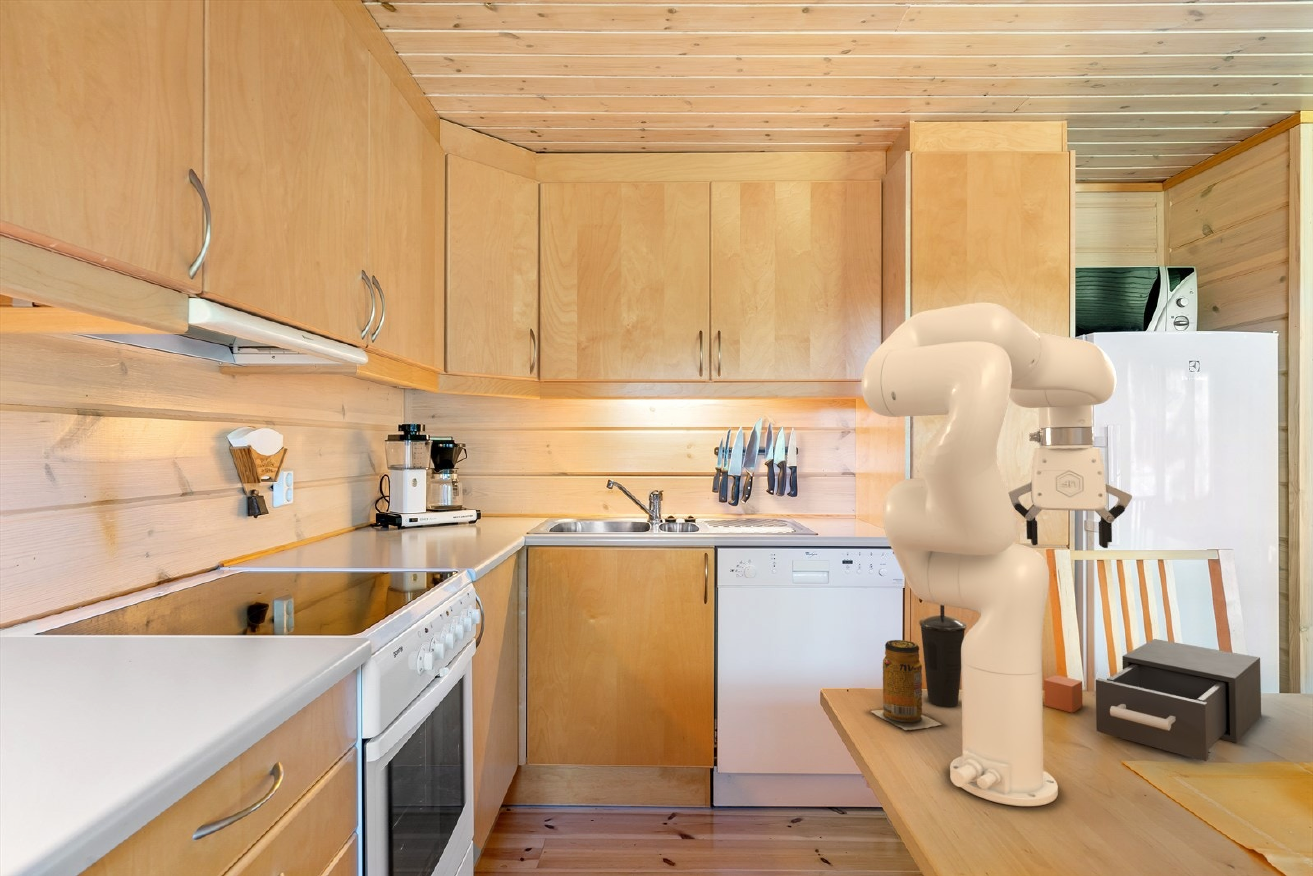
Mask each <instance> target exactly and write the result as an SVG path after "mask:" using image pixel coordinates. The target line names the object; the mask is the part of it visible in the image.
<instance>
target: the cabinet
mask: <svg viewBox="0 0 1313 876" xmlns="http://www.w3.org/2000/svg"><path fill="white" fill-rule="evenodd" d="M1121 657H1122V659H1121V660H1122V662H1121V663H1122V670H1123V669H1125V668H1127V667H1129V666H1130V665H1132V664H1134V663H1136V664H1141V665H1146V666H1151V667H1156V668H1161V669H1166V670H1171V671H1175V672H1180V673H1185V674H1190V675H1195V676H1200V677H1205V678H1210V679H1215V680H1220V681H1225V682H1227V688H1228V730H1227V731H1226V732H1225V733H1224V734H1223V735H1222V736H1221V737H1220V738H1219V739H1218V740H1223V741H1227V742H1231V743H1235V744H1237V743H1238V742H1239V741H1240V740H1241V739H1242V738H1243V737H1244V736H1245V734H1247V732H1248V731H1250V729H1251V728H1252V727H1253V725H1255V723H1256V722H1257V721H1258V720H1259V719H1260V718H1261V717H1262V685H1261V682H1262V678H1261V676H1262V675H1261V657H1259V656H1254V655H1248V654H1242V653H1237V652H1233V651H1232V652H1231V651H1225V650H1220V649H1215V648H1209V647H1203V646H1197V645H1191V644H1186V643H1179V642H1176V641H1175V642H1174V641H1169V640H1165V639H1159V638H1158V639H1157V638H1154V639H1151V640H1150V641H1148V642H1146V643H1145V644H1142V645H1141V646H1139V647H1137V648H1134V649H1133V650H1131V651H1129V652H1127V653H1126V654H1124V655H1122V656H1121Z"/></svg>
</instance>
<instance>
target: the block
mask: <svg viewBox="0 0 1313 876" xmlns="http://www.w3.org/2000/svg"><path fill="white" fill-rule="evenodd" d="M1043 691H1044V693H1043V694H1044V695H1043V696H1044V698H1043V699H1044V702H1043V703H1044V706H1045V707H1048V708H1052V709H1056V710H1060V711H1062V712H1067V713H1072V714H1073V713H1075V712H1077V711H1078V710H1080V709H1081V708H1083V704H1084V703H1083V681H1082V680H1079V679H1075V678H1071V677H1066V676H1062V675H1059V674H1052V675H1051V676H1049V677H1047V678H1045V679H1043Z"/></svg>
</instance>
